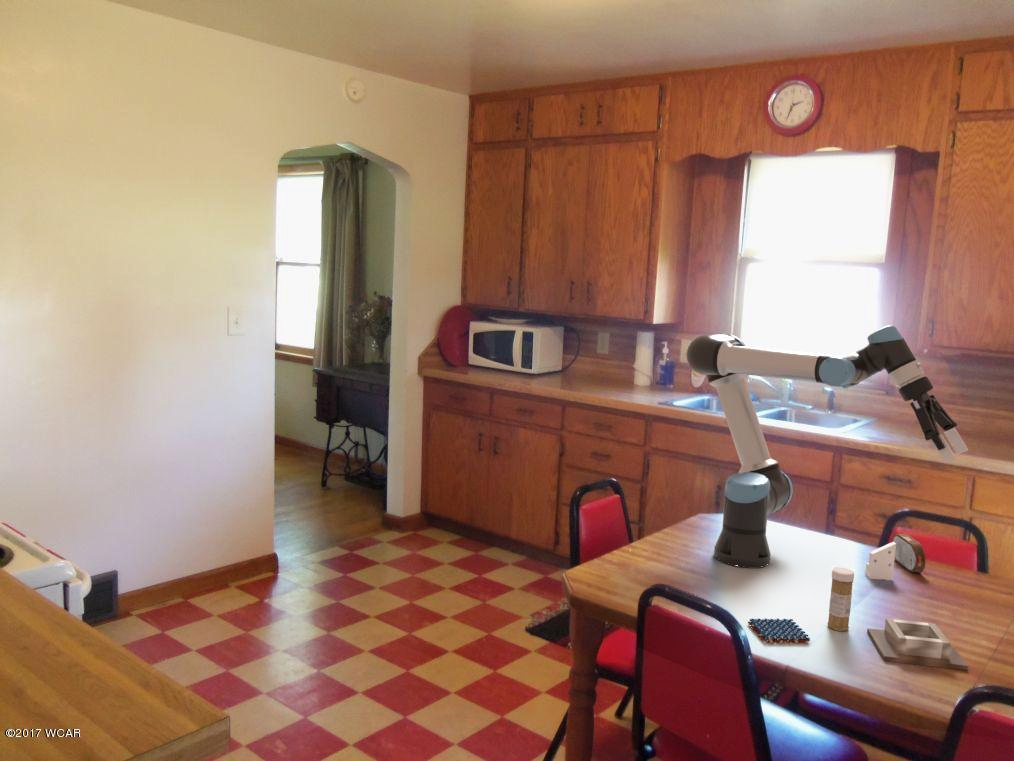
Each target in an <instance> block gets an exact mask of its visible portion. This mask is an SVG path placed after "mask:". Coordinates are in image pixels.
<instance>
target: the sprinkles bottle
mask: <svg viewBox="0 0 1014 761" xmlns="http://www.w3.org/2000/svg"><path fill="white" fill-rule="evenodd" d="M854 579H855V572H854V570H851V569H849V568H845V567H834V568H832V570H831V580H832V582H831V589H830V599H829V605H828V606H829V607H828V620H827V621H828V622H827V626H828V627H829V628H830V629H832V630H834V631H839V632H846V631H848V630H849V624H850V614H851V606H852V597H853V596H852V595H853V583H854Z"/></svg>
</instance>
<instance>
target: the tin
mask: <svg viewBox="0 0 1014 761" xmlns="http://www.w3.org/2000/svg"><path fill="white" fill-rule="evenodd" d="M892 542H895V543H896V550H895V559H894V561H896V562H897V563H898V564H899V565H901V566H902V567H903V568H904V567H905V568H904V569H906V570H907V571H908V572H910V573H919V572H920V574H922V573H923V571H924V570H925V567H926V563H927V562H926V561H927V560H926V554H925V550H924V547H923V546H922V544H921V543H920V542H919V541H918V540H916V539H915V538H914V537H912V536H910V535H909V534H907V533H896V534H895V535H893V537H892Z"/></svg>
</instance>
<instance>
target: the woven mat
mask: <svg viewBox="0 0 1014 761" xmlns="http://www.w3.org/2000/svg"><path fill="white" fill-rule="evenodd" d="M747 624H748V626H749V625H751V626H749V627H750V628H751V627H752V628H753V629H752V628H751V629H752V631H754V632H755V631H756V633H757V634H758V635H757V634H756V633H755V634H756V635H757V637H758V638H759V637H760V640H763V641H765V642H766V643H767V644H768V643H769V642H770V643H769V644H773V643H774V642H775V643H776V644H775V643H774V644H775V645H778V644H777V643H779V644H783V643H784V644H788V643H789V644H800V645H802V644H803V643H804V644H807V645H808V644H809V642H810V641H811V638H810V637H809V634H807V633H806V631H804V630H803V628H801V627H800V625H798V624H797V622H795V621H794V619H792V618H790V619H789V618H787V619H786V618H781V619H780V618H770V619H769V618H750V619H749V621H747ZM763 641H762V642H763ZM778 641H779V642H778ZM788 641H789V642H788ZM802 642H803V643H802Z"/></svg>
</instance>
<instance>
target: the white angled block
mask: <svg viewBox="0 0 1014 761" xmlns="http://www.w3.org/2000/svg"><path fill="white" fill-rule="evenodd" d="M895 550H896V543H895V542H893V541H892V542H890V543H887V544H885V545H883V546H881V547H878V548H875V549H873V550H871V551H870V552H869V558H868V562H866V563H865V570H864V571H865V572H864V573H865V575H866V576H867V578H868V579H871V580H881V579H886V580H885V581H893V577H894V569H895V568H894V566H895Z"/></svg>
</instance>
